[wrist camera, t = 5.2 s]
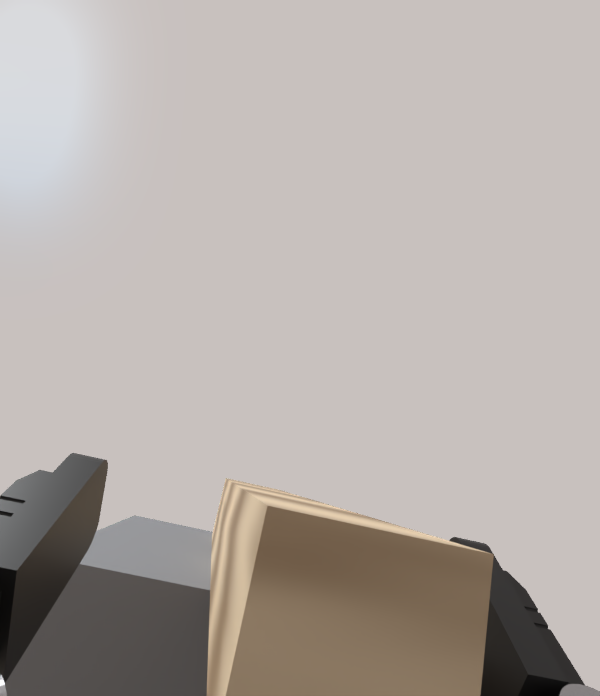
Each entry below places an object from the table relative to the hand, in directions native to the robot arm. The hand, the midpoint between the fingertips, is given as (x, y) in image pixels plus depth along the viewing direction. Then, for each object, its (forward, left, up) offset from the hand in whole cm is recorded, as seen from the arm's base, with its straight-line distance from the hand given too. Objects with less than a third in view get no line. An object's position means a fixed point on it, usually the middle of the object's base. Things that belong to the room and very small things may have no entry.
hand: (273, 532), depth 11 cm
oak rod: (-4, +4, -2) cm, 6 cm away
